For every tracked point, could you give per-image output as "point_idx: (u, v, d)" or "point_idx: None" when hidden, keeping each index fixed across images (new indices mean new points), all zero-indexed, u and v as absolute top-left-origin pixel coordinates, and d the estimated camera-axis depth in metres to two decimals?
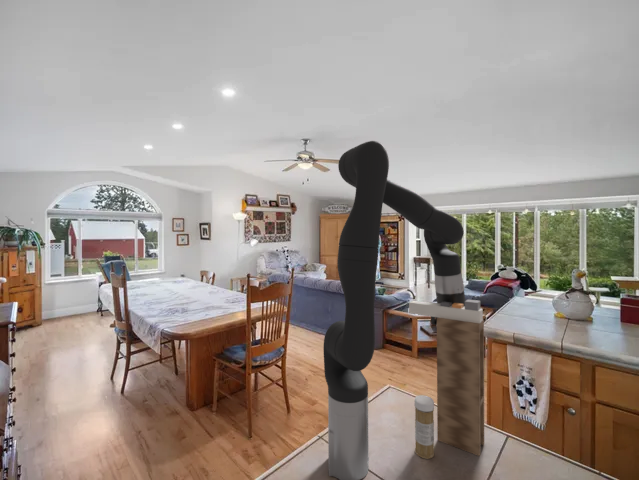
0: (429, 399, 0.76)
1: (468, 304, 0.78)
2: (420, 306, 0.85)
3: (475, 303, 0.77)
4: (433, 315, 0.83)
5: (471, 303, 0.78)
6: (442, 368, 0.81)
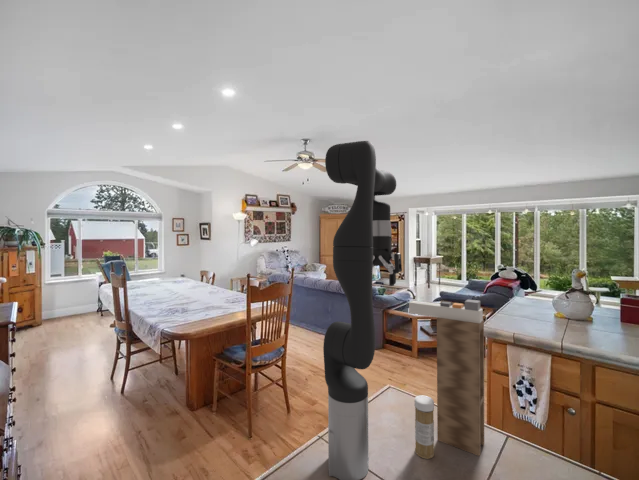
0: (429, 399, 0.76)
1: (468, 304, 0.78)
2: (420, 306, 0.85)
3: (475, 303, 0.77)
4: (433, 315, 0.83)
5: (471, 303, 0.78)
6: (442, 368, 0.81)
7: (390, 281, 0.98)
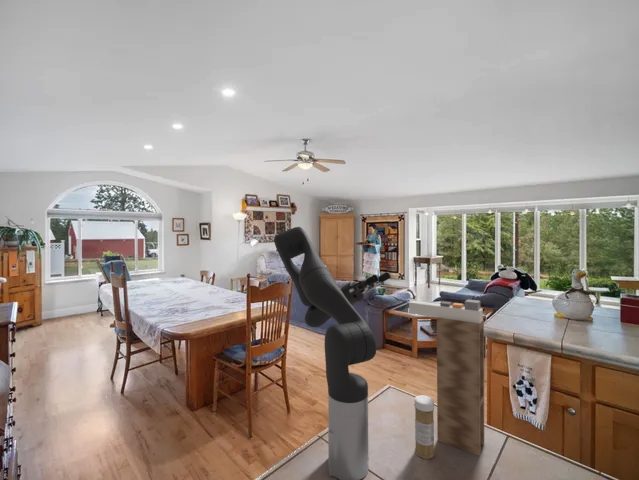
0: (429, 399, 0.76)
1: (468, 304, 0.78)
2: (420, 306, 0.85)
3: (475, 303, 0.77)
4: (433, 315, 0.83)
5: (471, 303, 0.78)
6: (442, 368, 0.81)
7: None
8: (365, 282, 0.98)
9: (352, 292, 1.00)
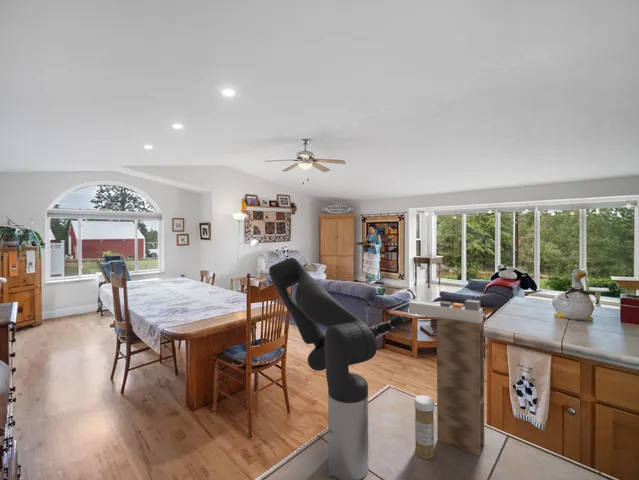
0: (429, 399, 0.76)
1: (468, 304, 0.78)
2: (420, 306, 0.85)
3: (475, 303, 0.77)
4: (433, 315, 0.83)
5: (471, 303, 0.78)
6: (442, 368, 0.81)
7: None
8: (377, 330, 0.89)
9: None
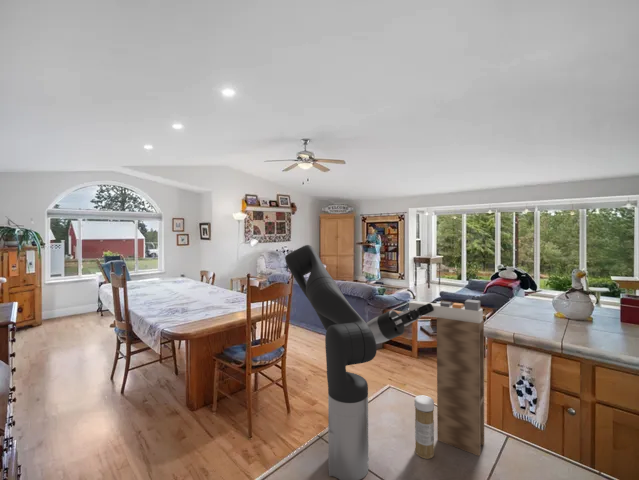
0: (429, 399, 0.76)
1: (468, 304, 0.78)
2: (420, 306, 0.85)
3: (475, 303, 0.77)
4: (433, 315, 0.83)
5: (471, 303, 0.78)
6: (442, 368, 0.81)
7: None
8: (417, 312, 0.84)
9: (400, 324, 0.84)
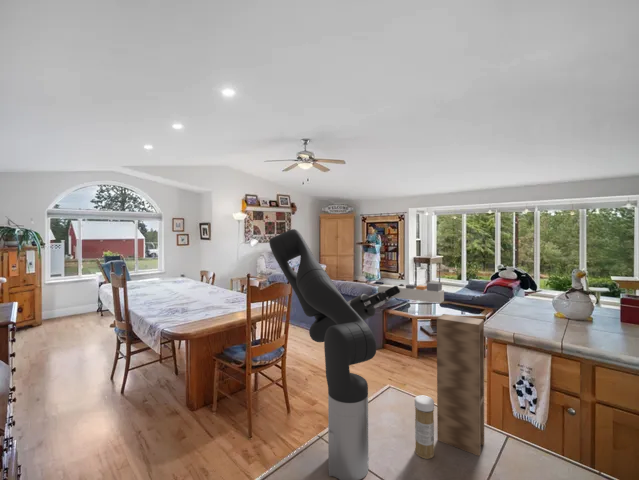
0: (429, 399, 0.76)
1: (429, 286, 0.84)
2: None
3: (436, 284, 0.83)
4: (399, 297, 0.89)
5: (432, 284, 0.83)
6: (442, 368, 0.81)
7: None
8: (385, 294, 0.90)
9: (369, 305, 0.90)
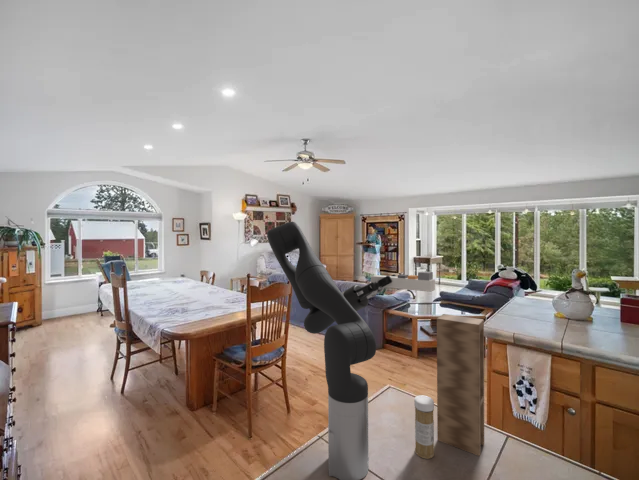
0: (429, 399, 0.76)
1: (420, 275, 0.85)
2: (380, 279, 0.93)
3: (427, 273, 0.84)
4: (391, 286, 0.91)
5: (423, 274, 0.85)
6: (442, 368, 0.81)
7: None
8: (377, 284, 0.92)
9: (361, 295, 0.92)
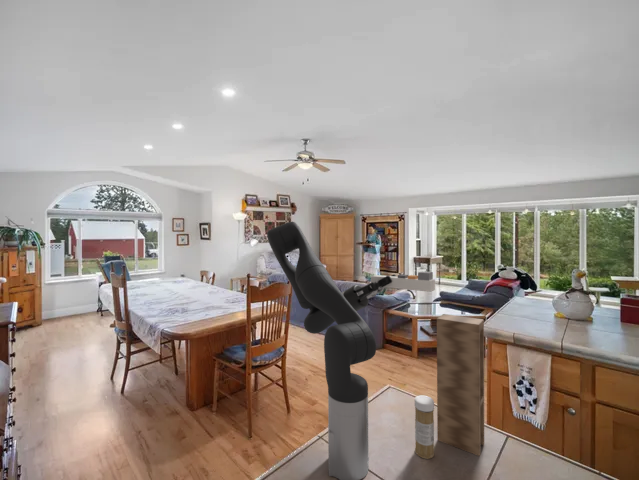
0: (429, 399, 0.76)
1: (420, 275, 0.85)
2: (380, 279, 0.93)
3: (427, 273, 0.84)
4: (391, 286, 0.91)
5: (423, 274, 0.85)
6: (442, 368, 0.81)
7: None
8: (377, 284, 0.92)
9: (361, 295, 0.92)
